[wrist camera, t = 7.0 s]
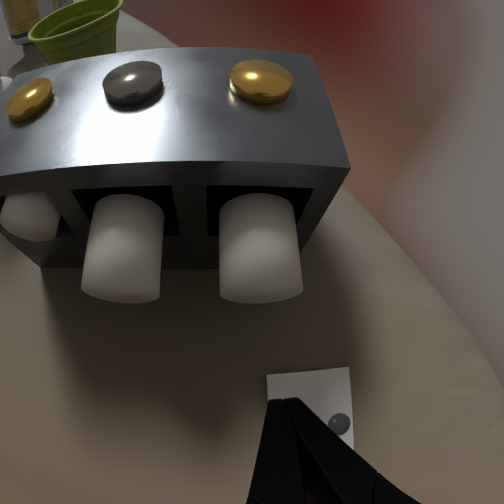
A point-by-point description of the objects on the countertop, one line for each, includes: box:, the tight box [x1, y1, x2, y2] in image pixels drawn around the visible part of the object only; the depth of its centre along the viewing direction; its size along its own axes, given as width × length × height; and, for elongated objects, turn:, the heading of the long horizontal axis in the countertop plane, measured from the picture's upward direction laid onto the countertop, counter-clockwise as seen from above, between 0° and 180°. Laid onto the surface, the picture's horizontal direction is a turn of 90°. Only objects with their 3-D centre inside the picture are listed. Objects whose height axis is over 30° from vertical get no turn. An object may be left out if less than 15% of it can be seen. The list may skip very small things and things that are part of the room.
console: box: [0, 47, 351, 269], centre depth 15 cm, size 8×17×11 cm, turn 93°
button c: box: [0, 192, 61, 242], centre depth 13 cm, size 4×3×3 cm
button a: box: [219, 193, 303, 304], centre depth 13 cm, size 4×3×3 cm
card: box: [266, 367, 354, 450], centre depth 16 cm, size 7×5×1 cm
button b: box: [81, 194, 165, 303], centre depth 12 cm, size 4×3×3 cm
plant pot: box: [28, 0, 123, 66], centre depth 22 cm, size 9×9×9 cm
